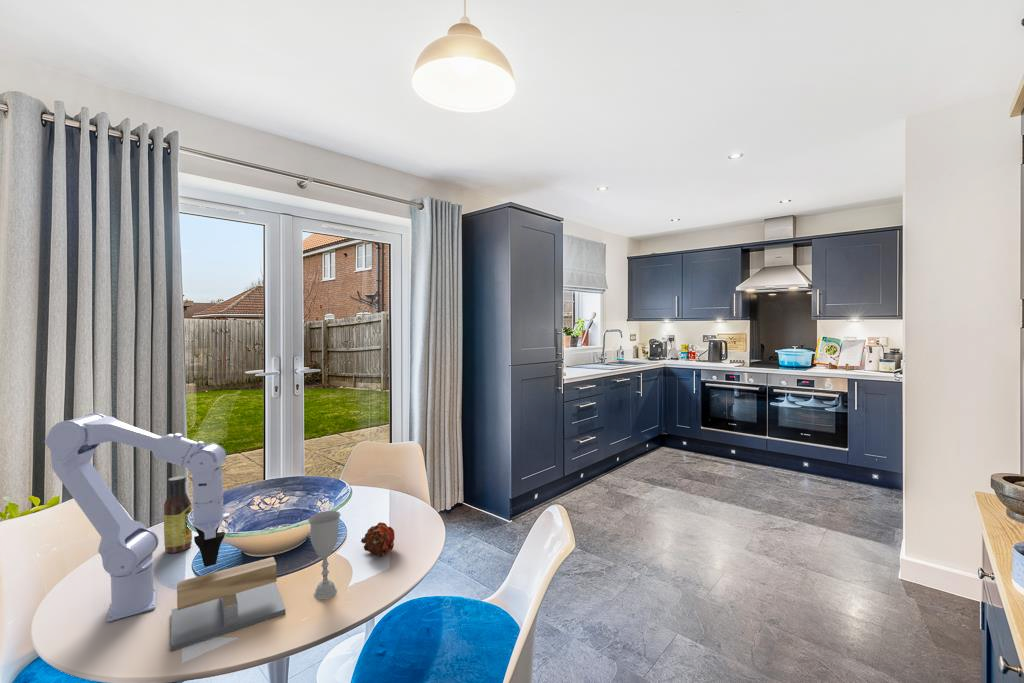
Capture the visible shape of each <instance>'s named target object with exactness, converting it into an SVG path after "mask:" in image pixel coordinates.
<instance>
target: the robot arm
mask: <svg viewBox="0 0 1024 683" xmlns="http://www.w3.org/2000/svg"><path fill="white" fill-rule="evenodd" d="M107 442H115V443H118V444H123V445H126V446H130V447H133V448H134V447H135V448H138V449H142V450H146V451H149V452H150V451H151V452H152V453H153V456H154V458H155V459H157V460H159V461H163V462H166V463H170V464H173V465H176V466H180V467H183V468H187V471H188V472H189V473H190V474H191V475H192V514H193V516H192V518H193V520H192V527H194V528H195V529H194V530H196V532H197V534H198V535H197V536H195V535H194V538H193V541H194V543H195V545H196V546H197V548H198V550H199V551H200V555H201V558H202V563H203V565H204V568H207V567H211V566H215V565H216V564H217V561H218V556H219V551H220V548H221V544H222V542H223V540H224V539H225V535H226V533H225V531H221V532H218V531H219V529H220V528H219V527H220V525H221V524H222V523H223V521H225V520H228V519H229V518H230V513H229V512H225V513H224V481H223V480H224V477H223V464H224V463H225V462H226V459H227V452H226V450H225V448H224V447H223V446H221V445H220V444H218V443H216V442H211V443H207V444H205V441H203V440H200V441H195V440H192V439H189V438H185V437H183V433H179V432H176V433H174V434H173V433H169V434H165V435H162V436H161V435H158V434H155V433H152V432H150V431H147V430H144V429H142V428H139V427H136V426H133V425H132V424H128V423H125V422H123V421H120V420H119V419H118V418H115V416H108V415H104V414H102V413H99V412H93V413H87V414H85V415H83V416H80V417H77V418H73V419H70V420H62V421H59V422H57V423H56V424H54V425H53V426H52V427H51V428H50V430H49V431H48V434H47V436H46V437H45V439H44V444H45V445H46V446H47V448H48V449H49V452H50V459H51V468H52V470H53V472H54V473H55V475H56V477H57V478H58V479H59V480H60V481H61V483H62V485H64V487H65V489H67V491H68V493H69V495H70V496H71V497H72V498H73V500H74V501H75V502H76V504H77V505H78V507H79V508H80V510H82V512H83V514H84V515H85V517H87V519H88V521H89V522H90V523H91V525H92V526H93V527H94V529H95V531H96V532H97V533H98V534H99V536H100V537H101V538H100V542H99V546H98V550H97V552H98V554H99V555H100V557H101V559H102V568H103V569H104V571H105V572H106V573H108V574H109V577H110V592H111V593H110V595H111V602H110V603H111V604H110V607H109V610H108V615H107V620H106V621H107V622H108V623H109V622H113V621H116V620H120V619H123V618H126V617H131V616H134V615H137V614H141V613H145V612H149V611H151V610H154V609H155V608H156V605H157V596H158V595H157V593H158V587H156V586H155V587H154V558H153V556H154V554H153V553H154V552H155V551H156V550H157V548H158V546H159V543H160V542H159V540H160V539H159V537H158V535H157V533H156V532H155V531H153V530H151V529H150V528H147V527H146V525H145V524H144V523H143V522H142V521H139V520H138V521H137V520H133V519H131V517H130V516H129V515H128V514H127V512H126V511H125V509H124V508H123V506H122V505H121V503H120V502H119V501H118V499H117V498H116V496H115V495H114V494H113V492H112V491H111V489H110V488H109V486H108V485H107V484H106V482H105V481H104V480H103V478H102V477H101V475H100V473H99V472H98V471H97V469H96V468H95V466H94V465H93V464H92V462H91V460H92V457H93V455H94V453H95V451H96V449H97V448H98V447H99V446H100V445H101V444H103V443H107Z"/></svg>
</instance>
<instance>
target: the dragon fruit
mask: <svg viewBox="0 0 1024 683" xmlns="http://www.w3.org/2000/svg"><path fill="white" fill-rule="evenodd" d="M394 541H395V531H394V529H393V527H391V526H388V525H387V524H386V523H385V522H378V523H377V524H376V525H374V526H373V525H371V527H369V529H367V531H366V533H365V534H364V537H362V538H361V540H360V542H361V543H362V544H364V546H363V549H364V551H365V552H369V553H370V554H372V555H375V556H377V557H378V556H379V557H381V556H384V555H385V554H387V552H389V551H392V550H393V548H394V547H395V544H394Z"/></svg>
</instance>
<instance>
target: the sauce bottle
mask: <svg viewBox="0 0 1024 683" xmlns="http://www.w3.org/2000/svg"><path fill="white" fill-rule="evenodd" d="M186 479H187V478H186V476H184V475H177V476H173V477H169V478H168V480H167V486H168V497H167V499H166V500H165V501H164V504H163V533H164V534H163V536H164V537H163V538H164V539H163V540H164V541H163V542H164V550H165V552H166V553H168V554H175V553H181V552H183V551H185V550H187V549H189V548H190V547H192V540H193V533H192V532H193V529H192V530H190V529H189V528H188V527H187V515H188V514H189V513H190V512H191V513H192V503H191V500H190V498H189V496H188V494H187V492H186V481H187V480H186Z"/></svg>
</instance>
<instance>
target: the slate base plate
mask: <svg viewBox="0 0 1024 683" xmlns="http://www.w3.org/2000/svg"><path fill="white" fill-rule="evenodd" d="M236 598H237V603H238V623H237V624H233V625H230V626H227V627H224V621H223V613H222V606H221V599H220V598H219V599H215V600H212V601H209V602H205V603H202V604H198V605H195V606H191V607H188V608H184V609H181V610H178V611H177V607H176V608H172V609H171V624H170V626H171V627H170V628H171V630H170V652H173V651H176V650H179V649H182V648H186V647H188V645H189V646H191V645H190V644H192V645H194V643H195V644H198V643H200V642H203V641H206V640H209V639H213V638H215V637H218V636H221V635H225V634H227V633H230V632H231V633H232V632H233V631H237V630H240V629H242V628H246V627H248V626H251V625H255V624H259V623H261V622H264V621H267V620H270V619H273V618H276V617H280V616H282V615H284V614H285V615H286V607H285V604H284V601H283V599H282V596H281V594H280V591H279V588H278V585H277V582H274V583H270V584H267V585H264V586H260V587H257V588H253V589H250V590H246V591H243V592H239V593H236ZM197 642H198V643H197ZM185 646H186V647H185Z"/></svg>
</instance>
